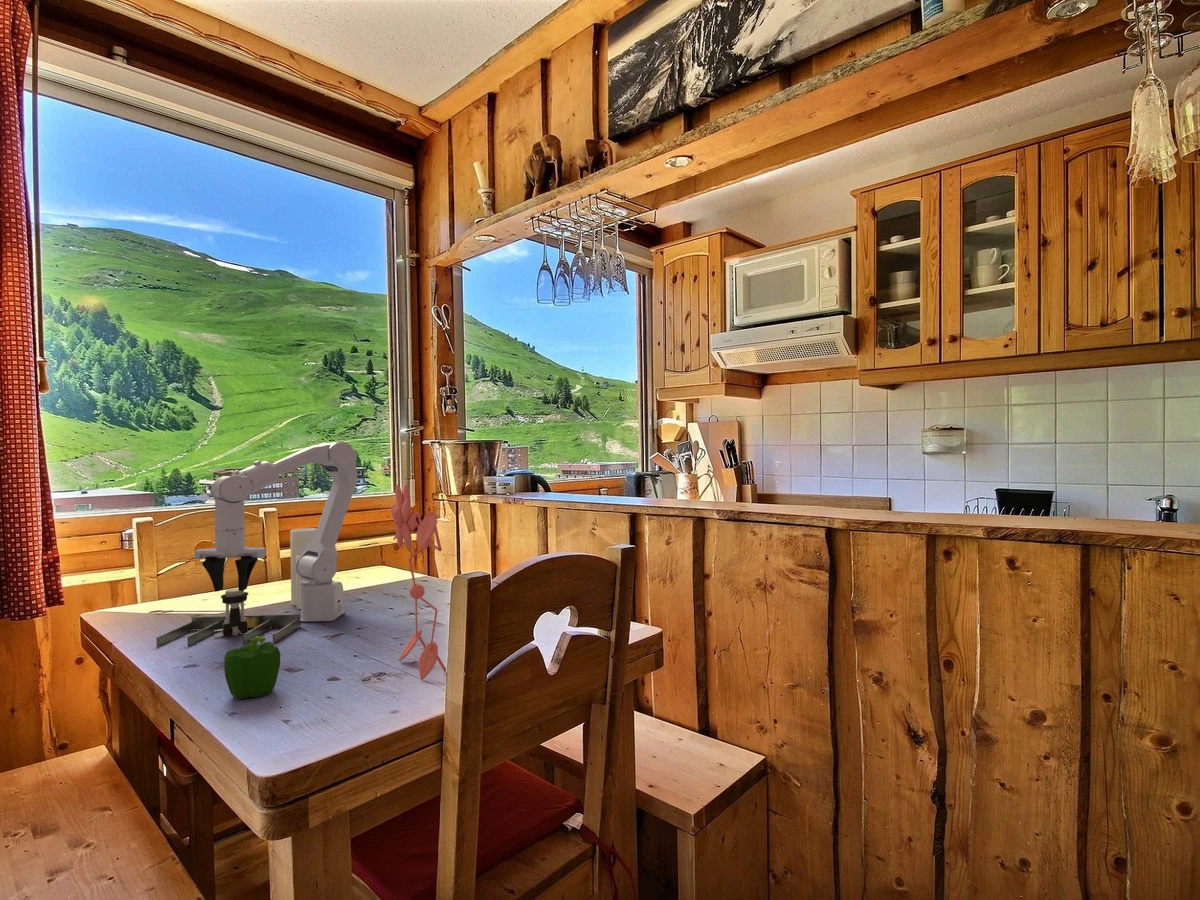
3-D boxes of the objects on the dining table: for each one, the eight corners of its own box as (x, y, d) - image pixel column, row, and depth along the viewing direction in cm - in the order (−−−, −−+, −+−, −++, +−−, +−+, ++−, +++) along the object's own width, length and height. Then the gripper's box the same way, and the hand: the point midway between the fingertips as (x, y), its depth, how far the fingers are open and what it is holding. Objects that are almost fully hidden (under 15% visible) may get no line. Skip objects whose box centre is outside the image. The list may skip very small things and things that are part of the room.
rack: (300, 626, 143) (300, 613, 143) (274, 643, 131) (274, 629, 131) (193, 629, 142) (193, 616, 142) (156, 646, 130) (156, 632, 130)
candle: (288, 602, 166) (287, 529, 166) (316, 598, 171) (315, 527, 171) (299, 610, 158) (298, 533, 158) (328, 605, 162) (327, 531, 162)
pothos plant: (424, 645, 127) (418, 479, 127) (466, 686, 106) (459, 485, 105) (346, 662, 119) (339, 484, 119) (374, 709, 97) (366, 491, 97)
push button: (214, 640, 134) (214, 594, 134) (213, 634, 138) (213, 590, 138) (249, 634, 137) (249, 590, 137) (247, 629, 142) (247, 586, 142)
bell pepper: (218, 694, 103) (218, 635, 103) (271, 681, 109) (270, 625, 109) (232, 708, 97) (231, 646, 97) (287, 694, 103) (286, 635, 103)
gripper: (185, 532, 132) (186, 595, 132) (253, 531, 133) (254, 593, 133) (204, 528, 139) (205, 587, 139) (269, 527, 140) (270, 586, 140)
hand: (230, 590), depth 136 cm, fingers open, 5 cm apart
